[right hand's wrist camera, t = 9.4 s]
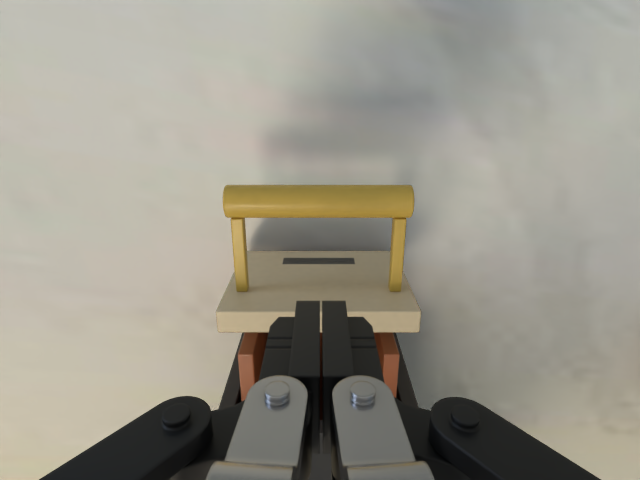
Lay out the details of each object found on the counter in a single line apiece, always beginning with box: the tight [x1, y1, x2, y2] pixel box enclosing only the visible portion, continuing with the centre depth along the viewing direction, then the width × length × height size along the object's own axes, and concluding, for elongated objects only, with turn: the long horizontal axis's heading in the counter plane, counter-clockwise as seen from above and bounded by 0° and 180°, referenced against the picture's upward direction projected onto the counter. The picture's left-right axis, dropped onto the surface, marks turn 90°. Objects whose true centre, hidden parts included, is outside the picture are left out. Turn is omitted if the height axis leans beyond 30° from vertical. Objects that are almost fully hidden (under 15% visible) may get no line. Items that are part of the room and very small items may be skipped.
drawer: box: [216, 185, 421, 420], centre depth 25 cm, size 20×10×8 cm, turn 0°
